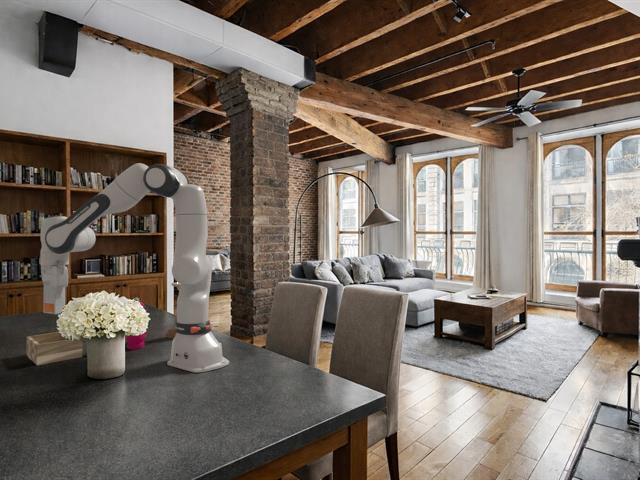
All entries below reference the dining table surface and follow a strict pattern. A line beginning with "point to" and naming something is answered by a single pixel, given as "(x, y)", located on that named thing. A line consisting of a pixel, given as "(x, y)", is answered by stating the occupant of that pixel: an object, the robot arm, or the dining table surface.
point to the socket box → (52, 348)
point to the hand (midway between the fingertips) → (54, 297)
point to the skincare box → (52, 299)
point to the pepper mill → (136, 338)
